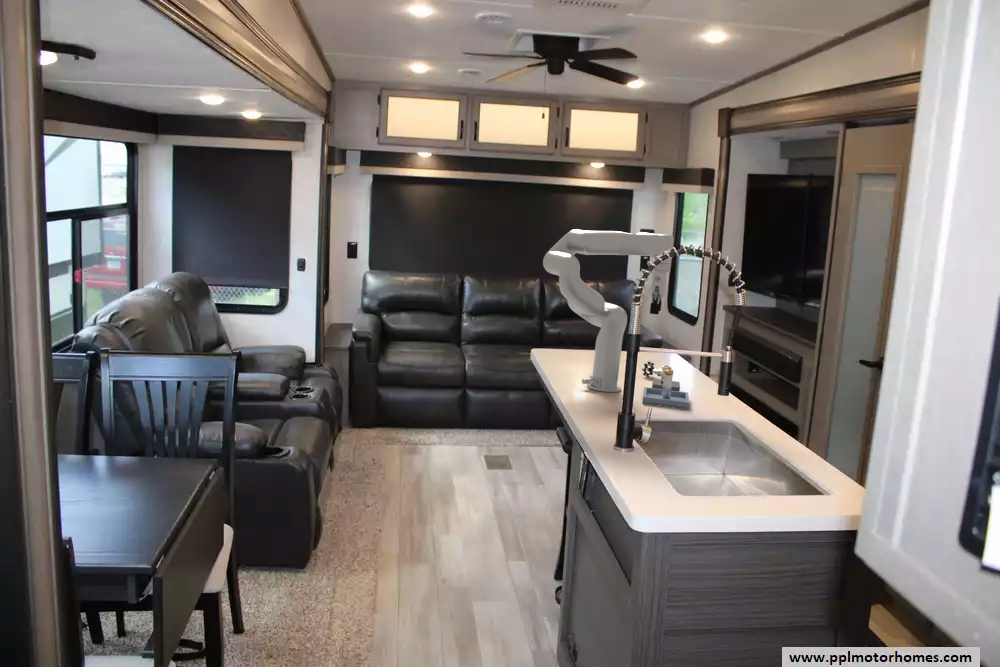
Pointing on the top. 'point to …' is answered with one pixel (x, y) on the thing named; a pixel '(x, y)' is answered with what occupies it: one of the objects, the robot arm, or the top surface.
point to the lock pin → (667, 384)
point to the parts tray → (655, 398)
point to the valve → (654, 370)
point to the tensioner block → (659, 385)
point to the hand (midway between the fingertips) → (655, 312)
